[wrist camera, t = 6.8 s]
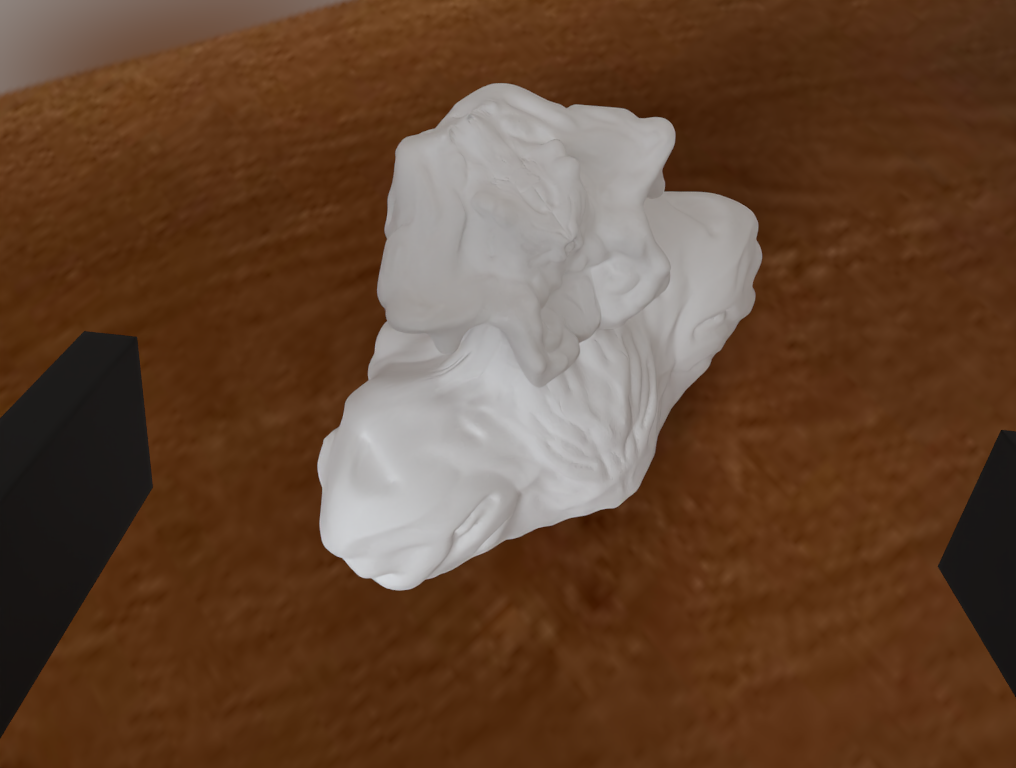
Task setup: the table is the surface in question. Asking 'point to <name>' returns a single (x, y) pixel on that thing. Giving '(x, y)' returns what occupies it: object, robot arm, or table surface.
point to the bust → (526, 330)
